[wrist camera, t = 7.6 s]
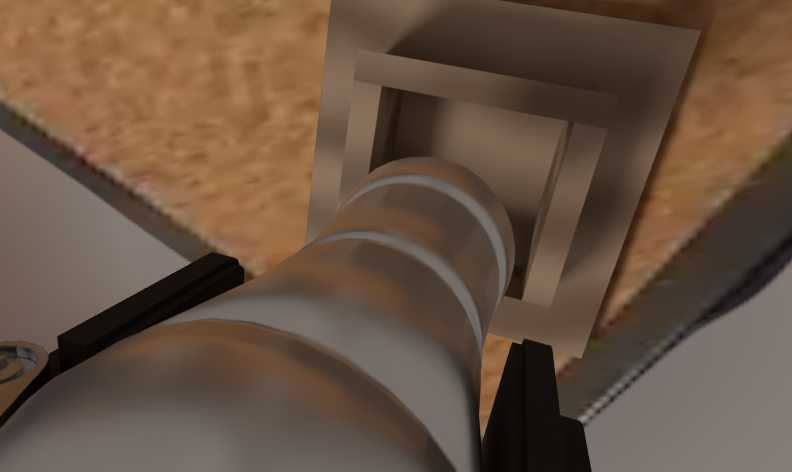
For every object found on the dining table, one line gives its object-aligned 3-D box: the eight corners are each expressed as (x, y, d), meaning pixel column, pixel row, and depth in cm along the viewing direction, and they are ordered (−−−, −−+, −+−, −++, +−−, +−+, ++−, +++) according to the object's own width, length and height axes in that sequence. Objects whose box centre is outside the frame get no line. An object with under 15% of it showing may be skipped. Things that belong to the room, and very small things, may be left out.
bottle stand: (342, -20, 29) (295, -47, 23) (691, 33, 25) (744, 18, 19) (309, 272, 36) (266, 311, 30) (578, 346, 32) (591, 407, 26)
